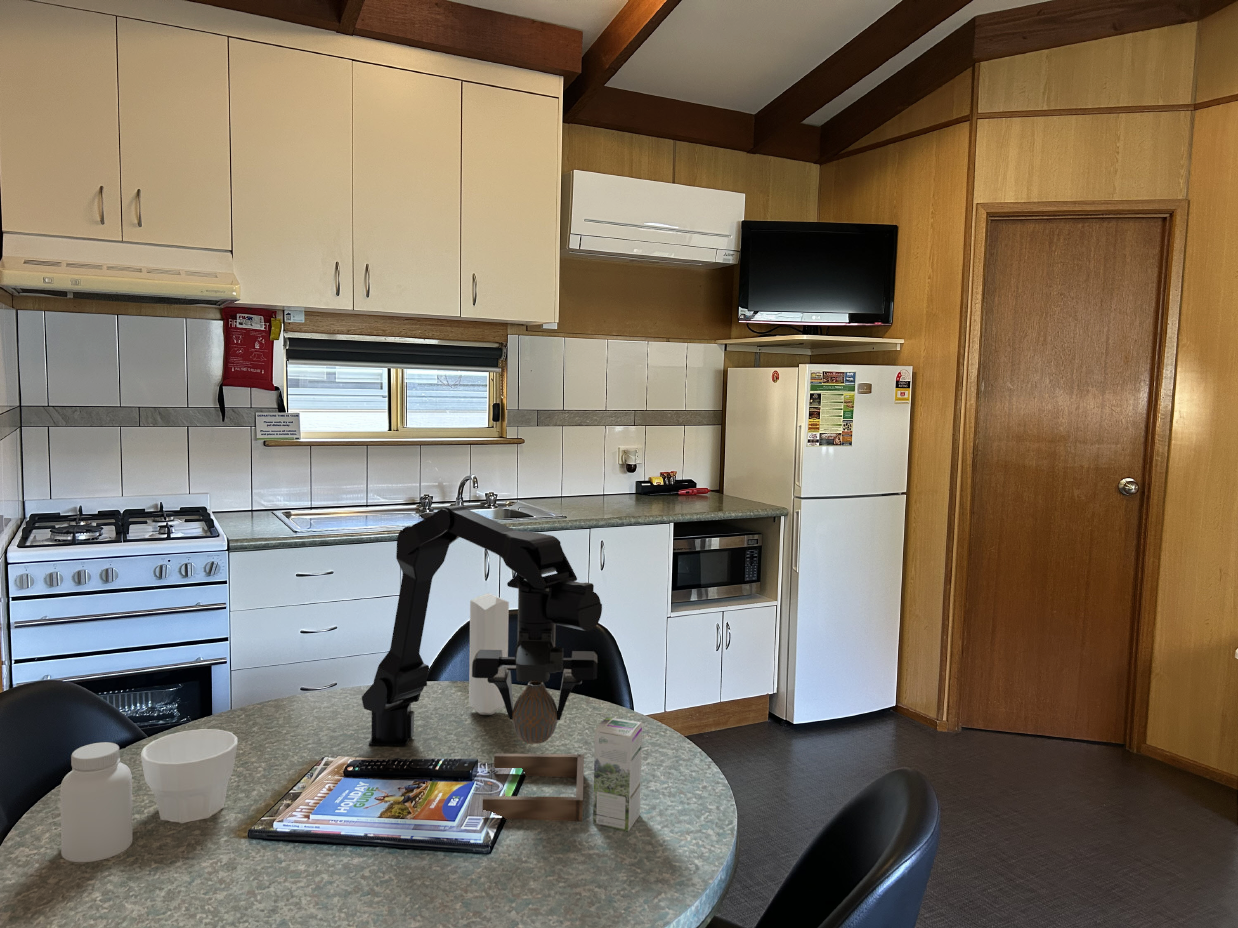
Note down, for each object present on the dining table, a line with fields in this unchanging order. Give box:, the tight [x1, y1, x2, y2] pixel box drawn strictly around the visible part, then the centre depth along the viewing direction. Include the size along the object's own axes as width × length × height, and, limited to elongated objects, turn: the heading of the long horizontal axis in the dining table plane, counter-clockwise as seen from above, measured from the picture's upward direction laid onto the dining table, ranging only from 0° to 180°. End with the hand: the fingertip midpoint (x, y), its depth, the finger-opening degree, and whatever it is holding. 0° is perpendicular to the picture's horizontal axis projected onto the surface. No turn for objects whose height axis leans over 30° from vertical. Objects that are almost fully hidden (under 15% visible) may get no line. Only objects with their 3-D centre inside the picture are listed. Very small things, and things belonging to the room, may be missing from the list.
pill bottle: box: [59, 741, 133, 863], centre depth 112 cm, size 8×8×15 cm
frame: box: [482, 753, 585, 822], centre depth 133 cm, size 14×16×4 cm
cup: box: [140, 728, 239, 824], centre depth 123 cm, size 12×12×11 cm
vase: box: [512, 681, 558, 745], centre depth 132 cm, size 7×7×9 cm
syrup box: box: [592, 717, 643, 832], centre depth 126 cm, size 6×6×14 cm
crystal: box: [468, 592, 510, 716], centre depth 165 cm, size 7×7×24 cm
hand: (534, 718), depth 132 cm, fingers closed on vase, 7 cm apart
